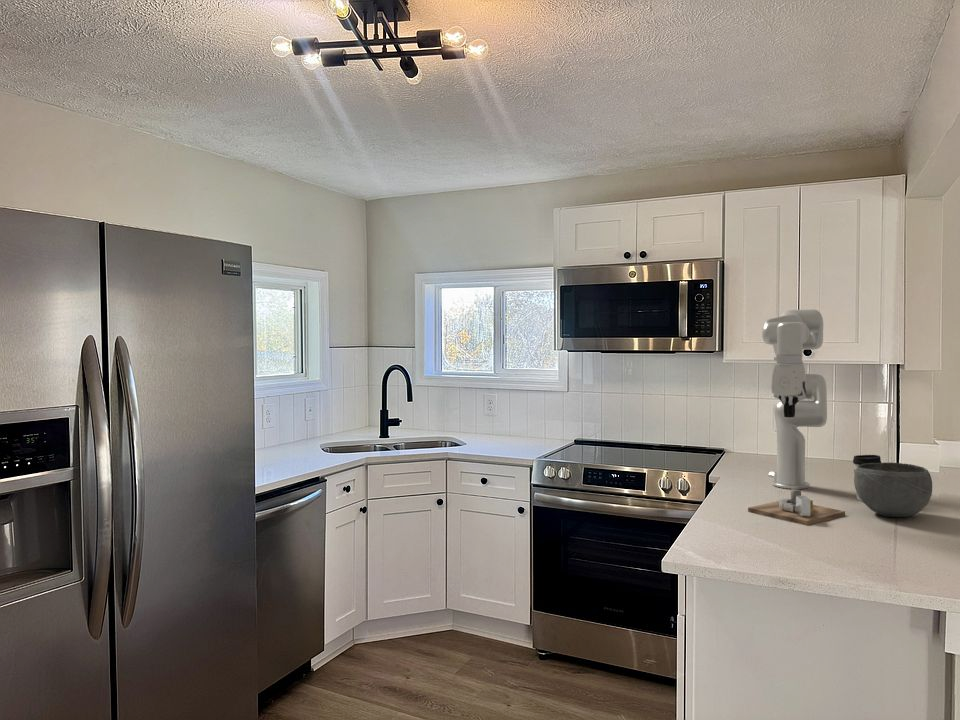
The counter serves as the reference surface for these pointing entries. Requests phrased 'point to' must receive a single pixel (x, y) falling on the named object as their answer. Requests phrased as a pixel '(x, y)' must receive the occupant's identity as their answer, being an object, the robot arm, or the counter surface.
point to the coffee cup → (863, 460)
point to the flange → (796, 505)
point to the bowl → (893, 488)
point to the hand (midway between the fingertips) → (789, 416)
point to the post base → (815, 512)
